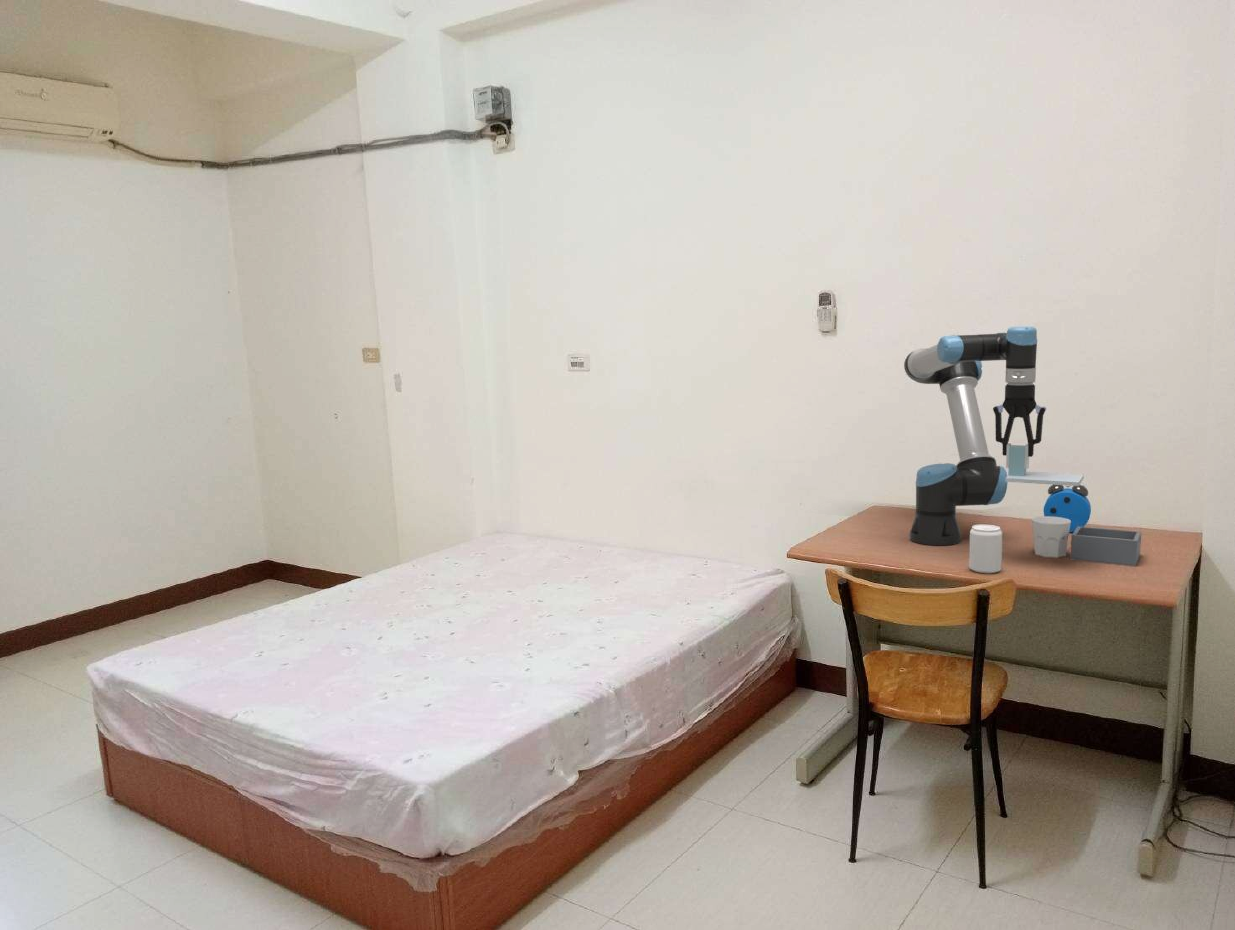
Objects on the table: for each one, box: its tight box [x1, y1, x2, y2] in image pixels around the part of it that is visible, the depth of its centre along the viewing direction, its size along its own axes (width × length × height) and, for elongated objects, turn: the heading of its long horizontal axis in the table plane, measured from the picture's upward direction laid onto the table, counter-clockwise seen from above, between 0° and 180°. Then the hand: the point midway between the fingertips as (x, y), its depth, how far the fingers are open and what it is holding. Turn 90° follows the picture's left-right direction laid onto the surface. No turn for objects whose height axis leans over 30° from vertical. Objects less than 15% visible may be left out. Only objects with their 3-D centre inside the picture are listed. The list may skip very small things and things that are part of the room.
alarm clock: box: [1043, 484, 1092, 533], centre depth 284 cm, size 13×6×15 cm, turn 61°
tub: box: [1070, 526, 1142, 567], centre depth 253 cm, size 16×12×7 cm
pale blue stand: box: [1005, 444, 1085, 487], centre depth 248 cm, size 18×13×9 cm
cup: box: [1031, 516, 1071, 559], centre depth 259 cm, size 10×10×10 cm
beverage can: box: [968, 523, 1003, 574], centre depth 246 cm, size 8×8×12 cm
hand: (1017, 467), depth 252 cm, fingers closed on pale blue stand, 4 cm apart
